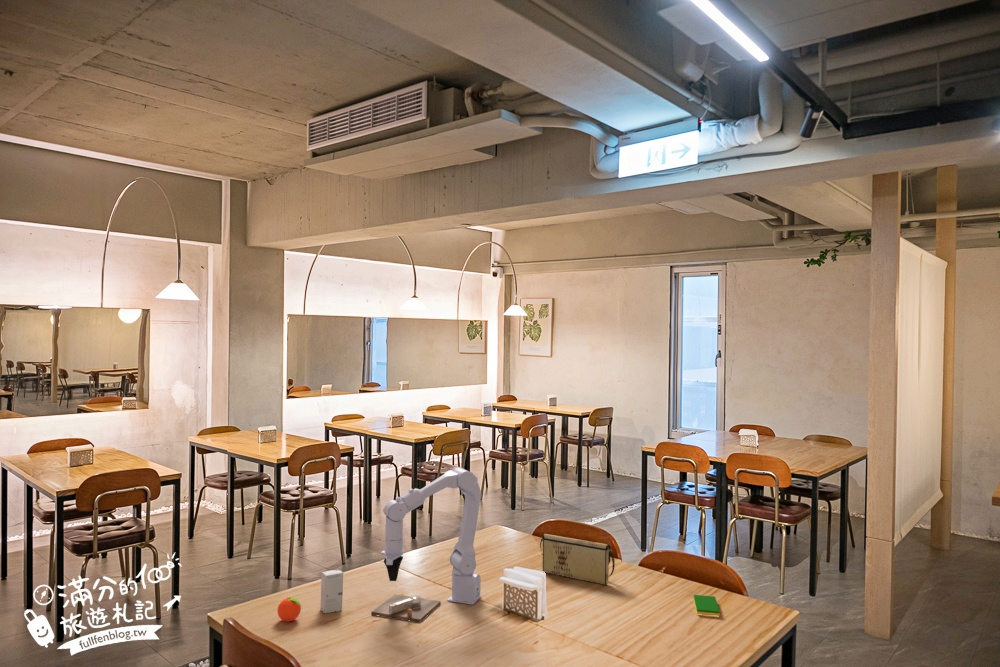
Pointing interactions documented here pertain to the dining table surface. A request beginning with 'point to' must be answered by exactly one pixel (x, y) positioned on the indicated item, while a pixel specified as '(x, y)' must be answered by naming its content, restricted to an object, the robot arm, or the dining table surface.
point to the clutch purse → (576, 558)
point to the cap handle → (405, 604)
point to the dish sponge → (706, 605)
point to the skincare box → (331, 591)
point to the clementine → (289, 609)
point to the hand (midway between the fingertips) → (393, 580)
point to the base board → (410, 613)
